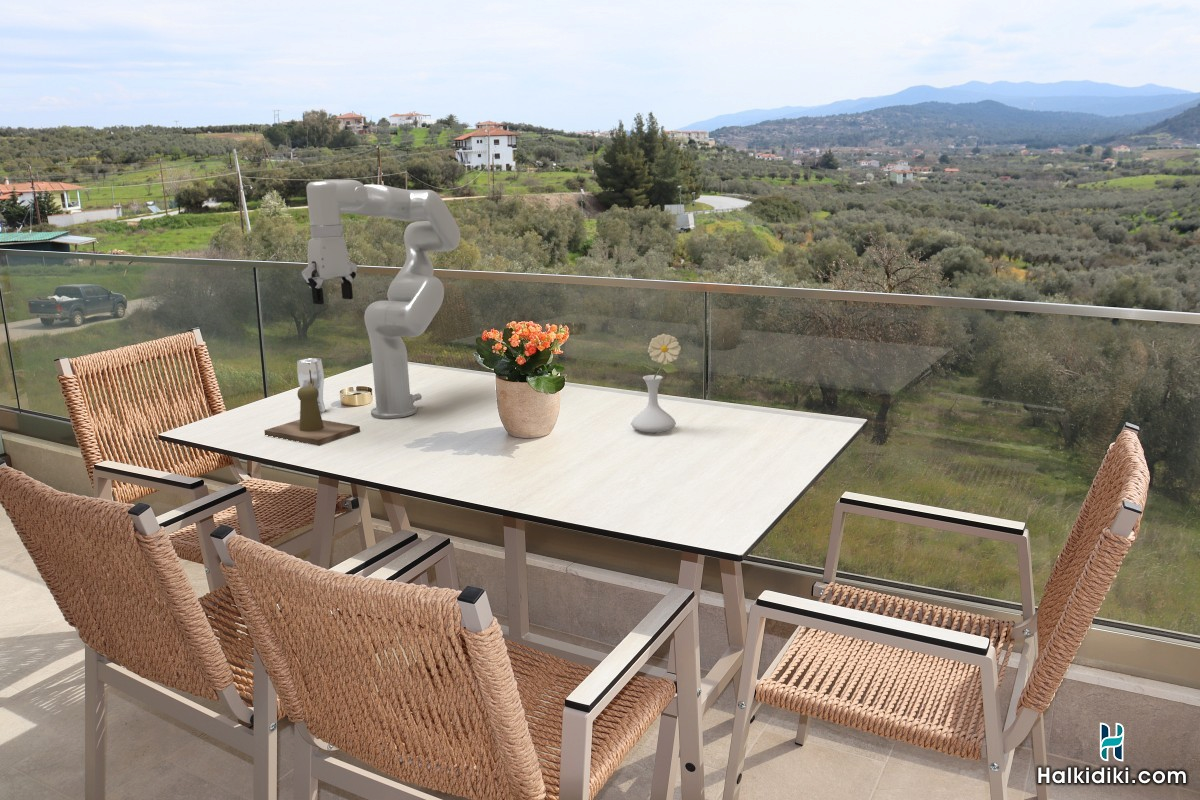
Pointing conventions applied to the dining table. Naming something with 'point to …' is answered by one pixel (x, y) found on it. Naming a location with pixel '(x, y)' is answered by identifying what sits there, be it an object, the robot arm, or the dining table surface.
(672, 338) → the flower in vase
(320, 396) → the beer glass
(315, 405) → the olive brown tapered piece
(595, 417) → the dining table surface
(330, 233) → the robot arm
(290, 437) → the walnut board
